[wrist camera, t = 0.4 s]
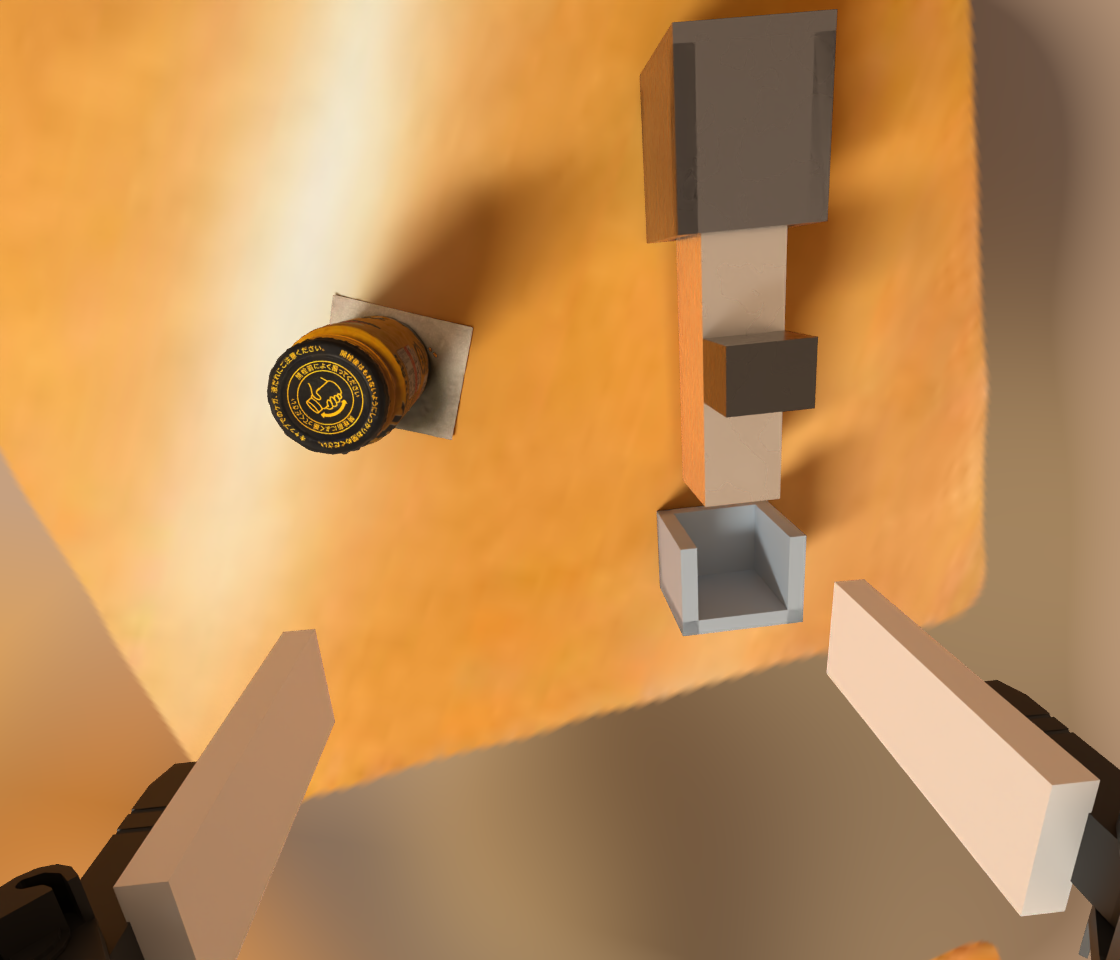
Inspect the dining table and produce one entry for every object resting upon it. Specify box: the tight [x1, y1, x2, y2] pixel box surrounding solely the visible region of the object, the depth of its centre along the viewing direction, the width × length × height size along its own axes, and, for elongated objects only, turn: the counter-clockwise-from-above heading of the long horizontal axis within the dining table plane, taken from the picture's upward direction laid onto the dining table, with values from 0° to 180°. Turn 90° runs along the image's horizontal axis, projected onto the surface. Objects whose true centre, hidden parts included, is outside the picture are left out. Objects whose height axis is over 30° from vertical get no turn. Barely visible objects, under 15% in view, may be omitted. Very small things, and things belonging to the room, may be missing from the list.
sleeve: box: [640, 9, 837, 243], centre depth 32 cm, size 9×8×7 cm
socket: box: [657, 500, 806, 636], centre depth 40 cm, size 6×8×6 cm
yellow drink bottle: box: [267, 295, 473, 455], centre depth 32 cm, size 7×8×12 cm
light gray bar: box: [676, 226, 818, 507], centre depth 33 cm, size 22×4×9 cm, turn 5°
